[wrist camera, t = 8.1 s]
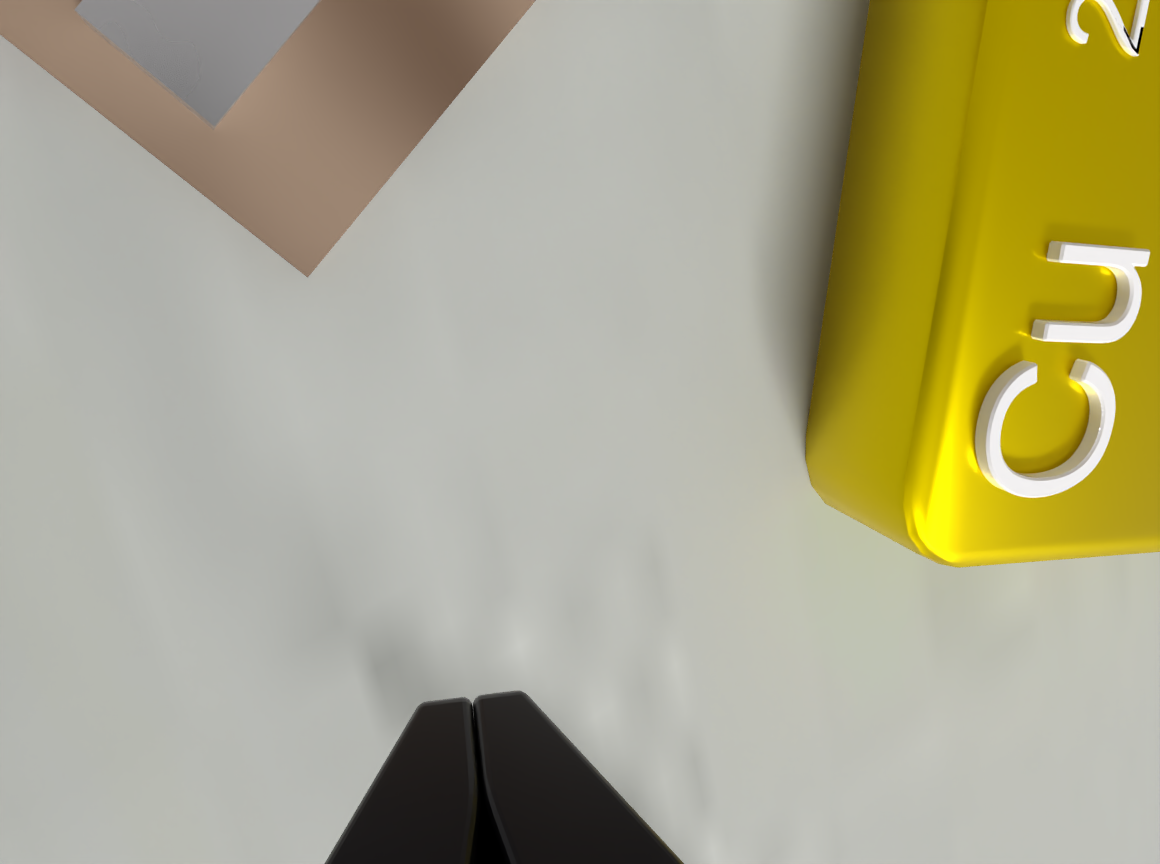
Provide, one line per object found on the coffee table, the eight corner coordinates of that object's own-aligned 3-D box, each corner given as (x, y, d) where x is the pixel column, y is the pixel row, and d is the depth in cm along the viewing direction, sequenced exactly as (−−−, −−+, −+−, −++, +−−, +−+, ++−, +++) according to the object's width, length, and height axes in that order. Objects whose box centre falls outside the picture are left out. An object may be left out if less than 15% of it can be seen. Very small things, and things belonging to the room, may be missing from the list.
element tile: (1185, 494, 30) (1348, 549, 26) (784, 513, 25) (906, 587, 21) (1311, -14, 27) (1524, -48, 22) (876, -123, 21) (1047, -196, 17)
